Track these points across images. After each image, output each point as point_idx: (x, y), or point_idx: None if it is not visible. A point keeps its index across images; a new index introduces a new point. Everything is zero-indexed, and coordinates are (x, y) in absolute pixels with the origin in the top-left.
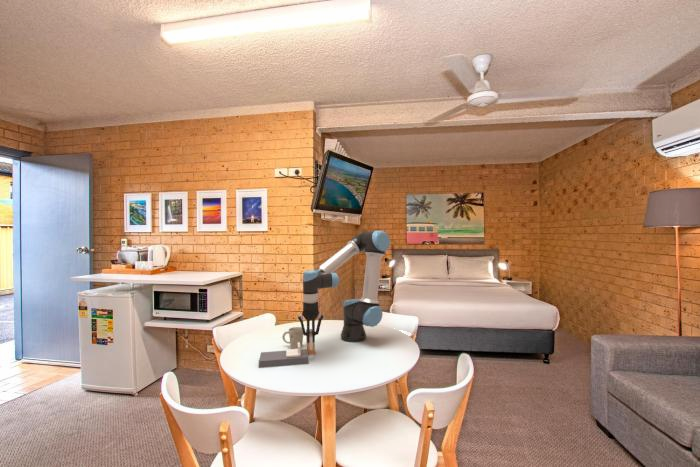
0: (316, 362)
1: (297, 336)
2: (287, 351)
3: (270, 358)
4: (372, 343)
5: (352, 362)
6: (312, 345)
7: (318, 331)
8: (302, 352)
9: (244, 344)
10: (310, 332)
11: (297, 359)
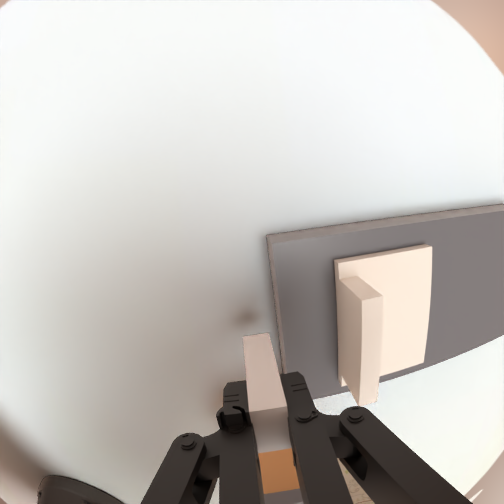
0: (209, 253)
1: (356, 492)
2: (421, 330)
3: (491, 242)
4: (4, 443)
5: (7, 240)
6: (245, 355)
7: (168, 462)
8: (320, 345)
9: (500, 433)
10: (278, 498)
11: (350, 230)
